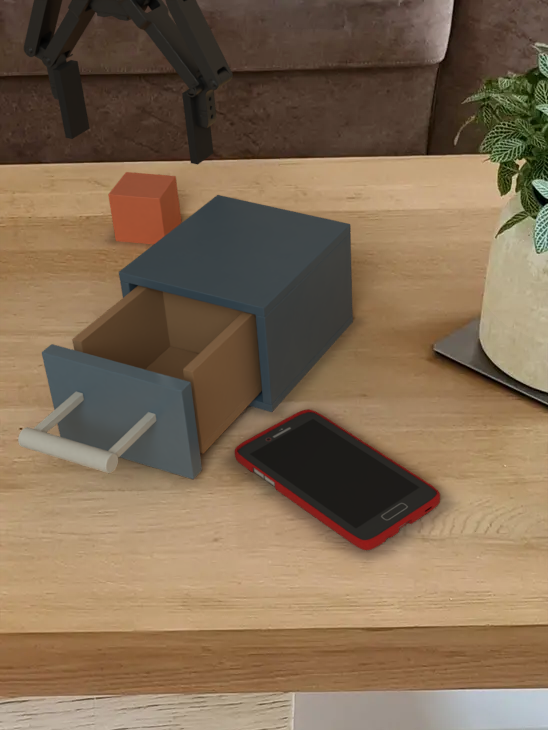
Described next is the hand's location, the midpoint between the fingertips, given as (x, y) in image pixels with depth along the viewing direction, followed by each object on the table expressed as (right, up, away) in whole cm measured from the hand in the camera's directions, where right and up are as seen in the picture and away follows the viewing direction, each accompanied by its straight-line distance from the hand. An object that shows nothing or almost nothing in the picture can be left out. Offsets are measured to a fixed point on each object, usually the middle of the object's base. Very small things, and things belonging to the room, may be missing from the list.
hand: (138, 145), depth 108 cm
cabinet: (+12, -20, -10) cm, 25 cm away
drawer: (+7, -27, -21) cm, 35 cm away
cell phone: (+21, -31, -24) cm, 44 cm away
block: (0, -7, +6) cm, 9 cm away
